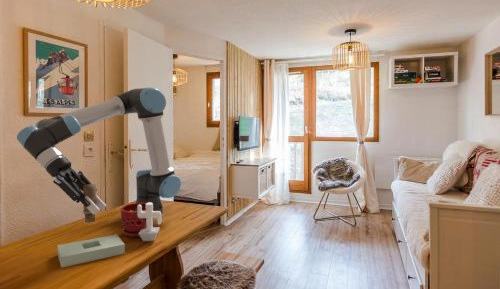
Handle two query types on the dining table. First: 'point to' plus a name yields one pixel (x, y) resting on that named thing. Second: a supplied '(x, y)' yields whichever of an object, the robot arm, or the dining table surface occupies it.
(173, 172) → the robot arm
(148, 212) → the figurine
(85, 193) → the peg
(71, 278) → the dining table surface
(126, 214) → the plant pot
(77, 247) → the board
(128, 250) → the dining table surface
